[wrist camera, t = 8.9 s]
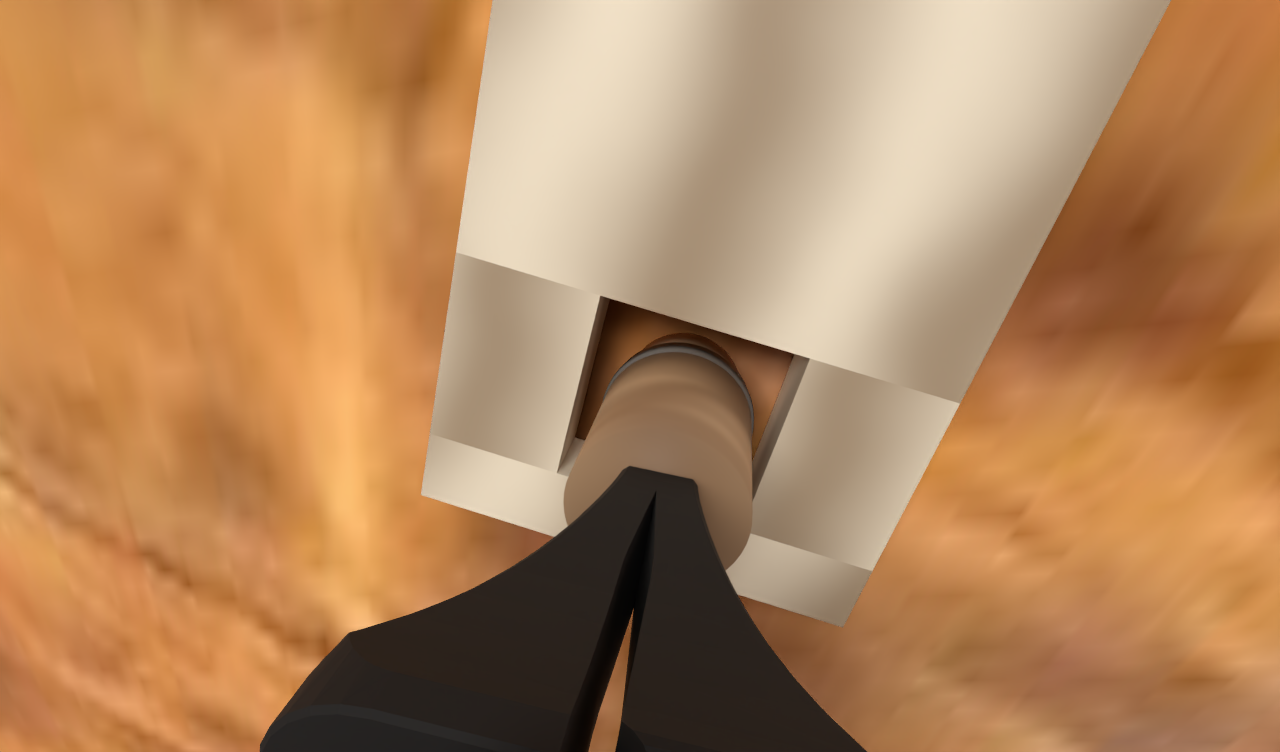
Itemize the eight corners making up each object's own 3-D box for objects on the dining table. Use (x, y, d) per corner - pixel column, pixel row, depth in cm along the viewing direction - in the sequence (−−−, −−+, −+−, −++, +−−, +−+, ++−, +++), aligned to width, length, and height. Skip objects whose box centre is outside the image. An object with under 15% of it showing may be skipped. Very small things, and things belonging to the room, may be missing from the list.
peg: (767, 336, 17) (777, 451, 12) (735, 457, 19) (731, 609, 13) (628, 307, 17) (573, 407, 12) (608, 429, 19) (550, 567, 13)
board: (1135, -32, 13) (1198, -52, 11) (833, 578, 20) (842, 627, 18) (556, -190, 13) (527, -235, 12) (450, 458, 20) (421, 494, 18)
